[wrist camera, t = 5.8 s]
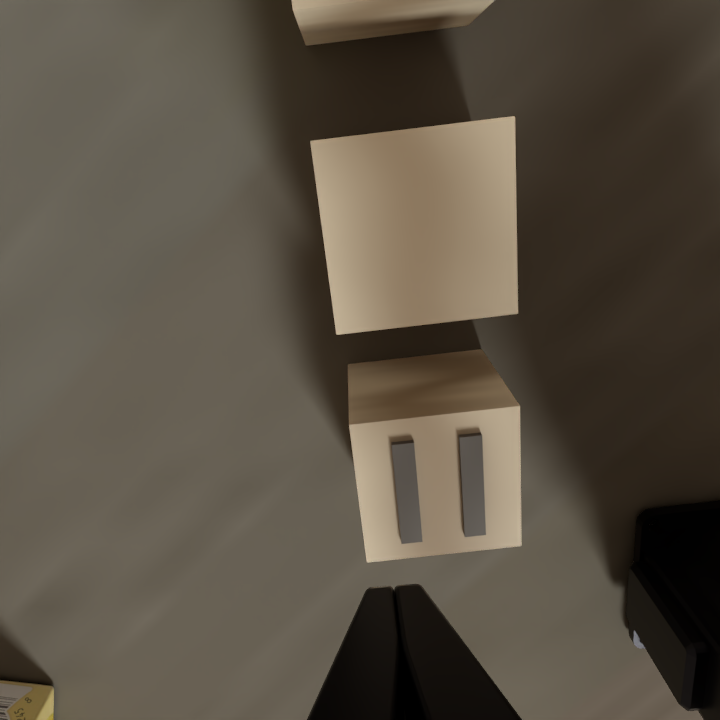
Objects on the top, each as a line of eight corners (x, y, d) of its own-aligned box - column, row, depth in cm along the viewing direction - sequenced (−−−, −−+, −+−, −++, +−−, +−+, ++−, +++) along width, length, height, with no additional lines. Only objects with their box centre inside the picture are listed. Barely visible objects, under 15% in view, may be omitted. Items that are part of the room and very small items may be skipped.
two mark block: (480, 348, 19) (521, 408, 15) (485, 464, 21) (523, 549, 16) (347, 363, 19) (348, 427, 15) (362, 477, 21) (367, 566, 16)
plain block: (471, 123, 17) (515, 115, 12) (477, 274, 18) (517, 313, 14) (318, 142, 17) (310, 140, 12) (337, 291, 18) (336, 335, 14)
